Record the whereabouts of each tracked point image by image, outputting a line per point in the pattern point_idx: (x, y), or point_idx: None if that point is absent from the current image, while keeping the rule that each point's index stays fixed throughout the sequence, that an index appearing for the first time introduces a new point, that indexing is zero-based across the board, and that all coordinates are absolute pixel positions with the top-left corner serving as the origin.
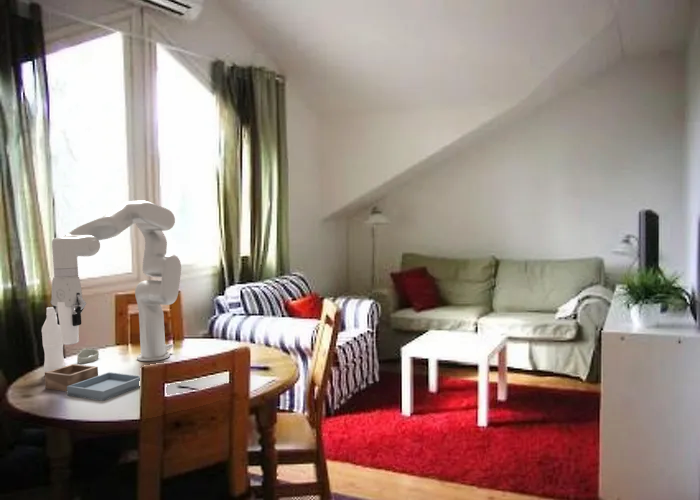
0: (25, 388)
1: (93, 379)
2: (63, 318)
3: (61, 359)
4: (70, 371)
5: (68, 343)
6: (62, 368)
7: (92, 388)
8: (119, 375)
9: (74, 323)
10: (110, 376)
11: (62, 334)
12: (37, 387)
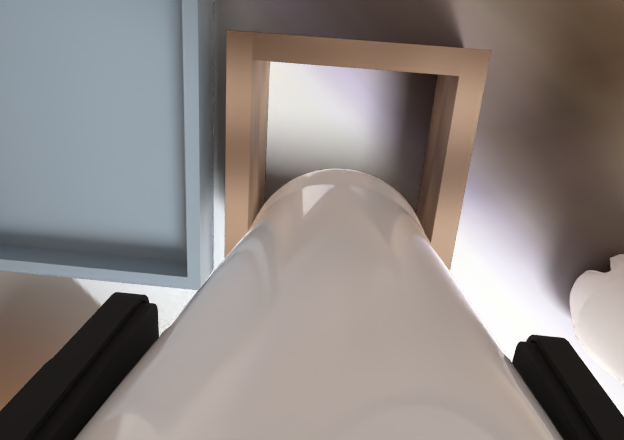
0: (601, 7)
1: (187, 163)
2: (255, 304)
3: (611, 353)
4: (425, 230)
5: (292, 180)
6: (440, 183)
7: (128, 80)
8: (112, 266)
9: (100, 326)
10: (183, 267)
11: (362, 199)
12: (533, 49)
